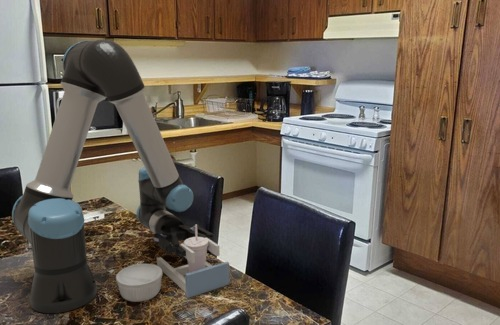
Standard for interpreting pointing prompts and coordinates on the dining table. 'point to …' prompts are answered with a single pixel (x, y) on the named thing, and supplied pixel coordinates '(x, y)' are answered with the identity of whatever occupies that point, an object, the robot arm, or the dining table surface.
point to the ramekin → (139, 282)
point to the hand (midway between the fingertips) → (206, 254)
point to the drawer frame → (197, 277)
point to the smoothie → (197, 251)
